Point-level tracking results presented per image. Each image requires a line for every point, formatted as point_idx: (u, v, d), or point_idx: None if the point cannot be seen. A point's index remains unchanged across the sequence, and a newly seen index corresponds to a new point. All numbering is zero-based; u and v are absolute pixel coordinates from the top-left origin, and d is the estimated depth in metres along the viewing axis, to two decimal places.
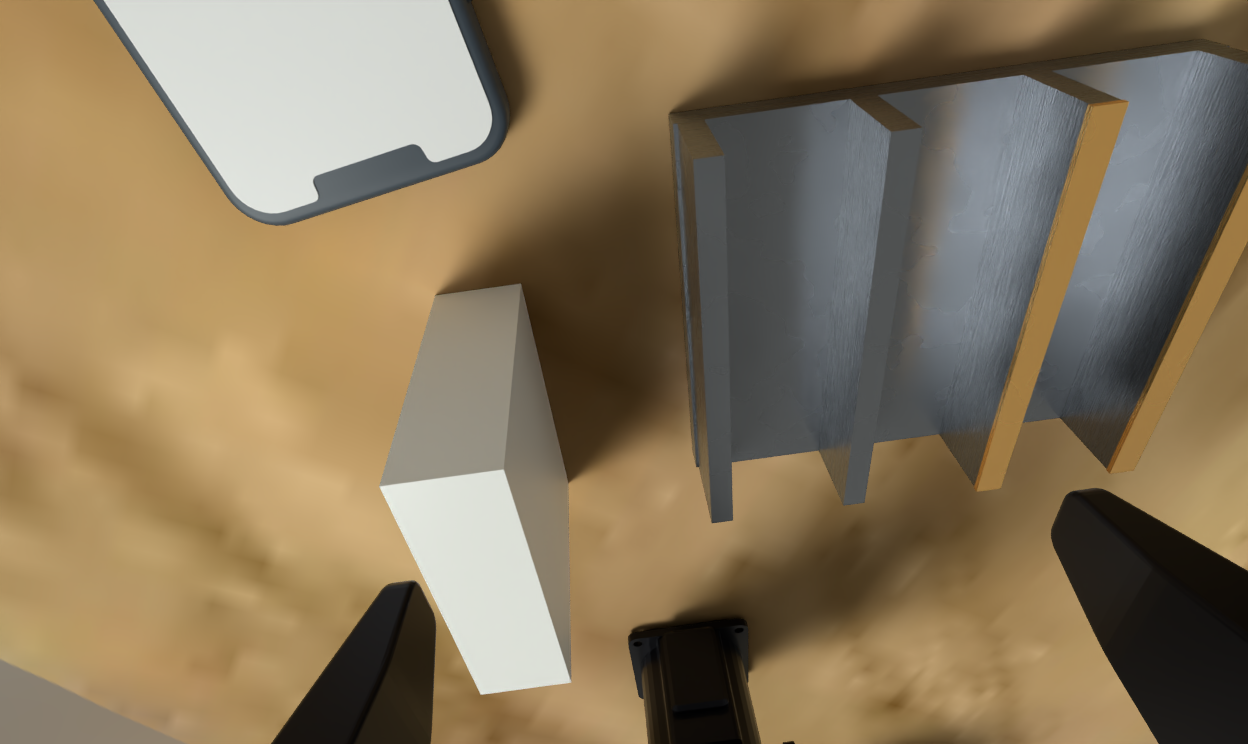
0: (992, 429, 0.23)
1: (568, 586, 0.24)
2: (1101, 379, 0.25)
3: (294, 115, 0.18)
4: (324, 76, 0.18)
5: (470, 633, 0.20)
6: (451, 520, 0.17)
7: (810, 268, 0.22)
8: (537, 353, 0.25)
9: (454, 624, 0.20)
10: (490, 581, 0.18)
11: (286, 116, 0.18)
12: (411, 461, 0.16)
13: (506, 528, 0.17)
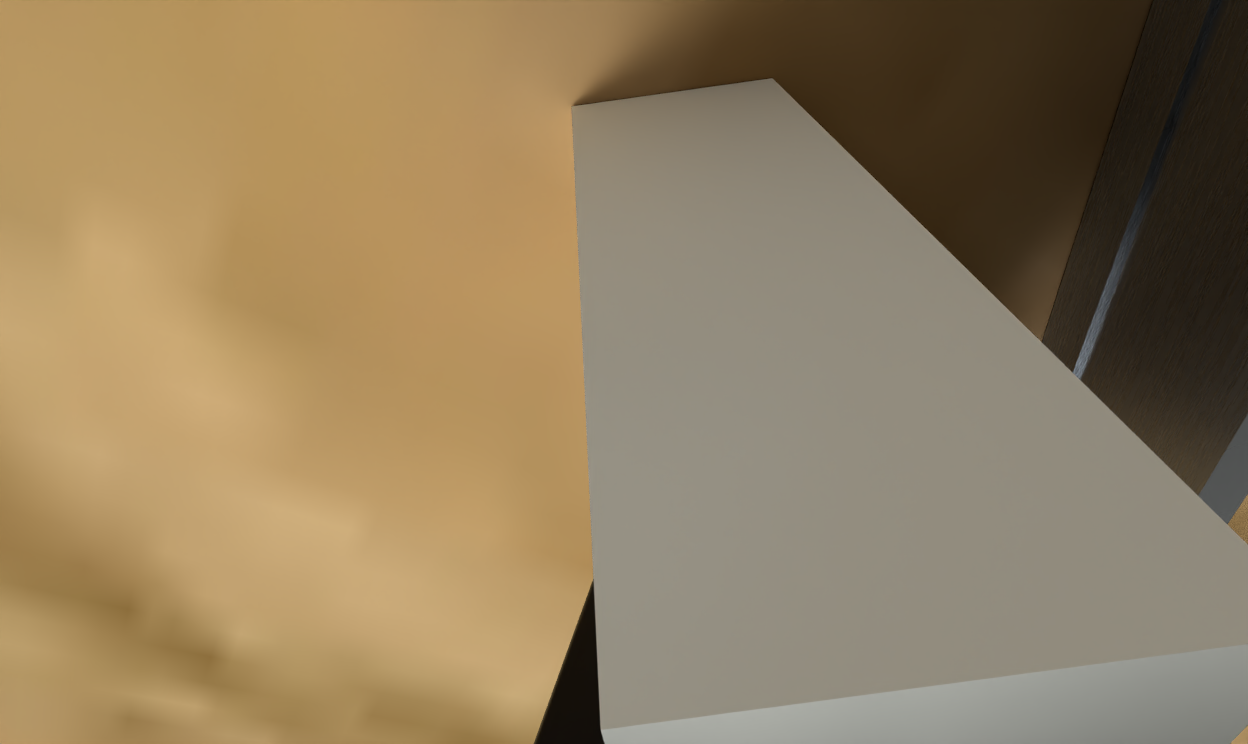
0: None
1: None
2: None
3: None
4: None
5: None
6: None
7: None
8: None
9: None
10: None
11: None
12: (725, 562, 0.03)
13: None
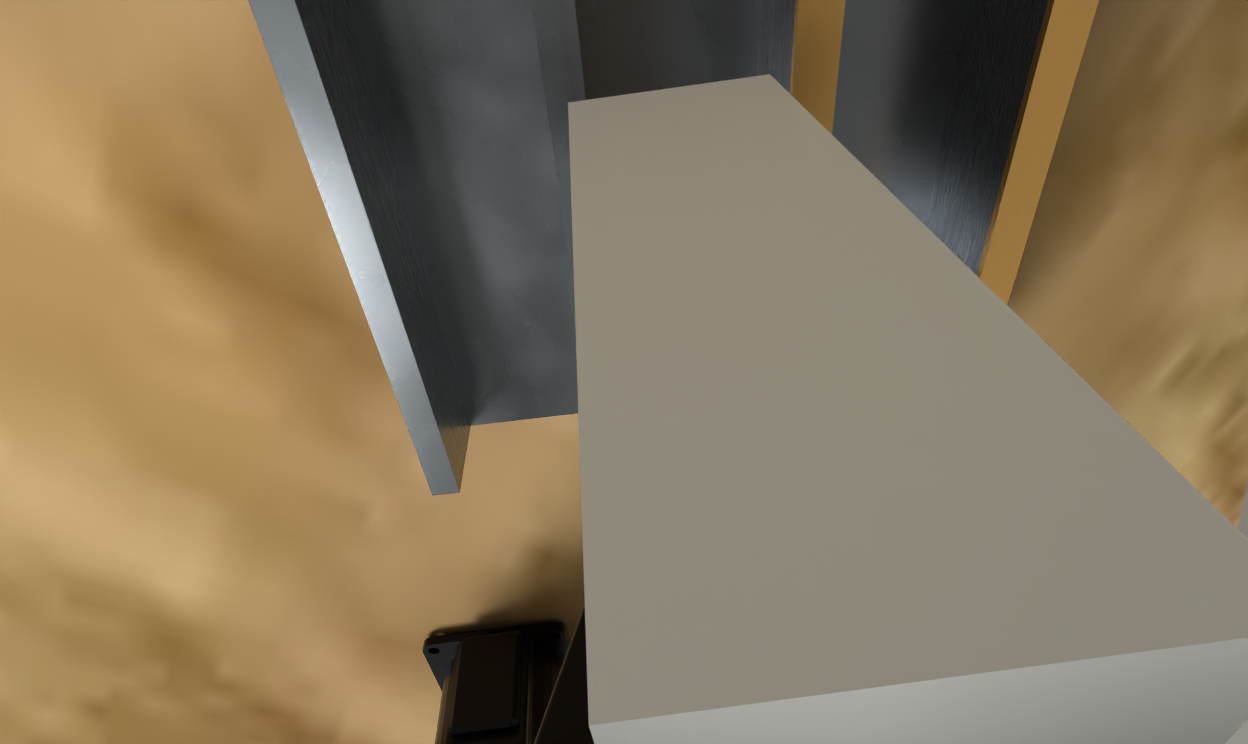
0: None
1: None
2: None
3: None
4: None
5: None
6: None
7: (527, 155, 0.17)
8: None
9: None
10: None
11: None
12: (718, 554, 0.03)
13: None
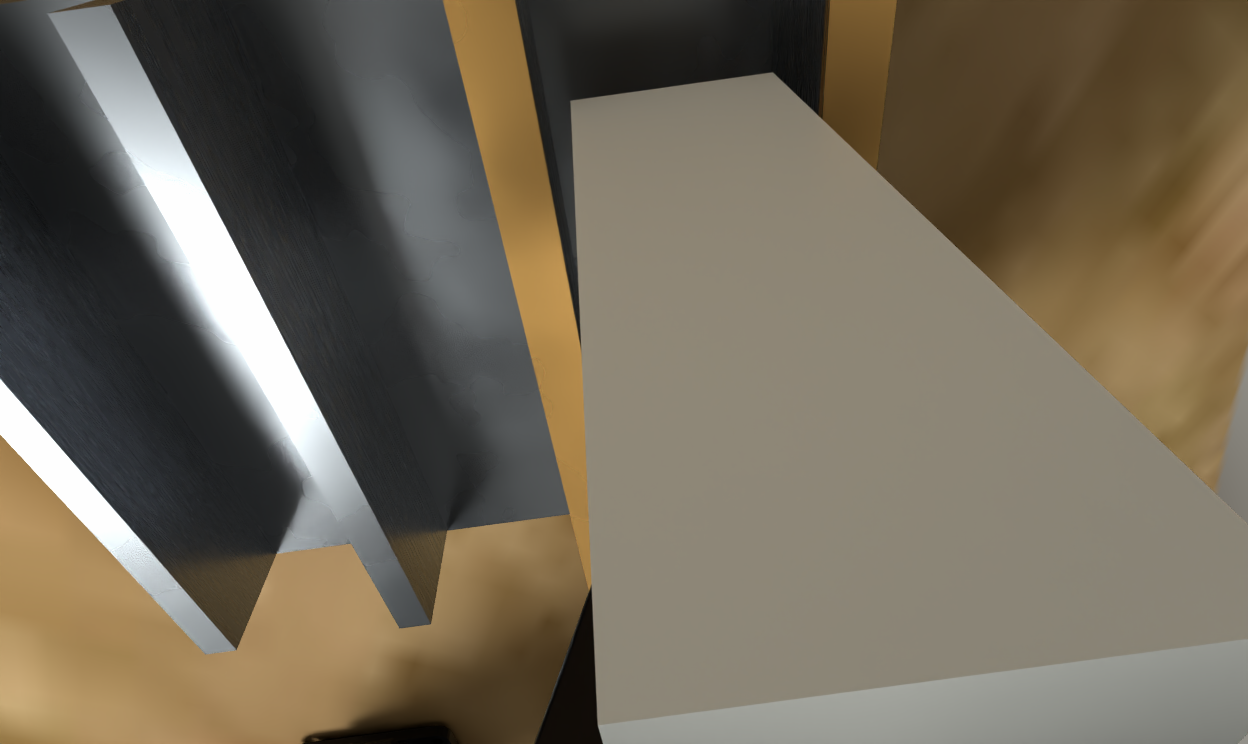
0: (574, 527, 0.15)
1: None
2: None
3: None
4: None
5: None
6: None
7: None
8: None
9: None
10: None
11: None
12: (725, 554, 0.03)
13: None
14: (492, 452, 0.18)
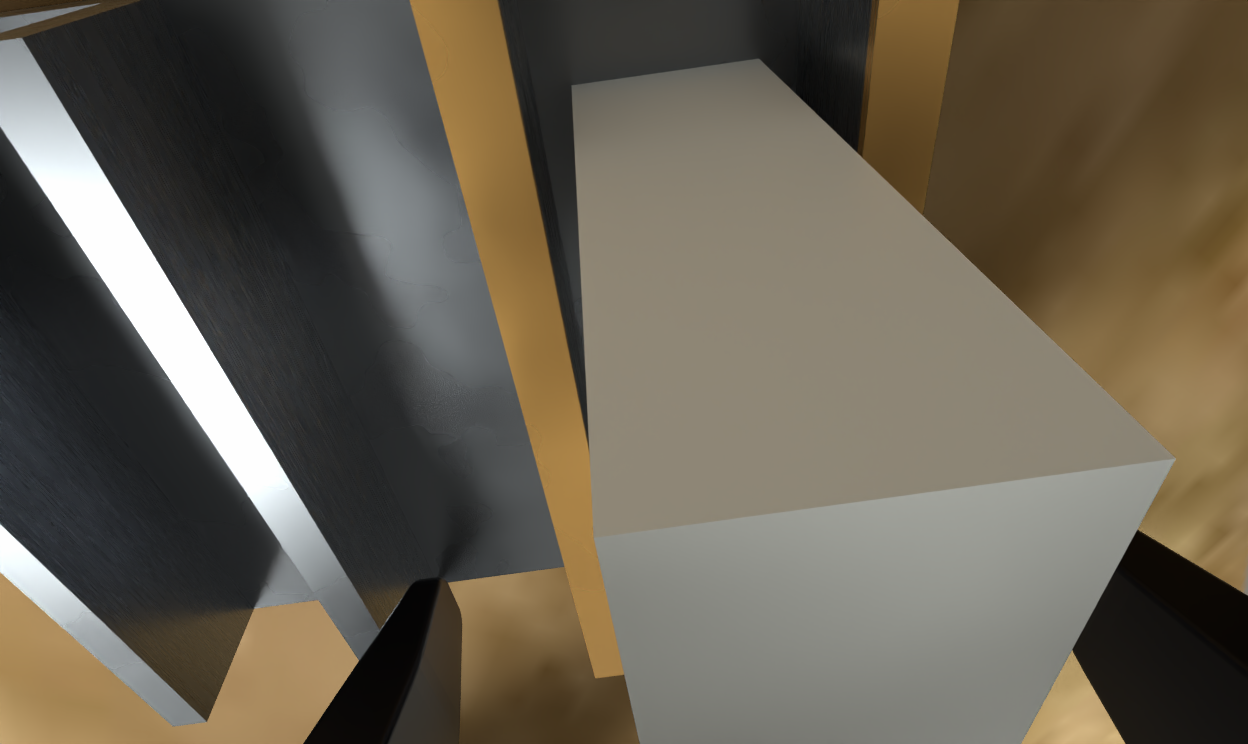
0: (573, 596, 0.14)
1: None
2: None
3: None
4: None
5: None
6: (830, 659, 0.04)
7: None
8: None
9: None
10: None
11: None
12: (697, 427, 0.04)
13: (1004, 678, 0.05)
14: (485, 504, 0.16)
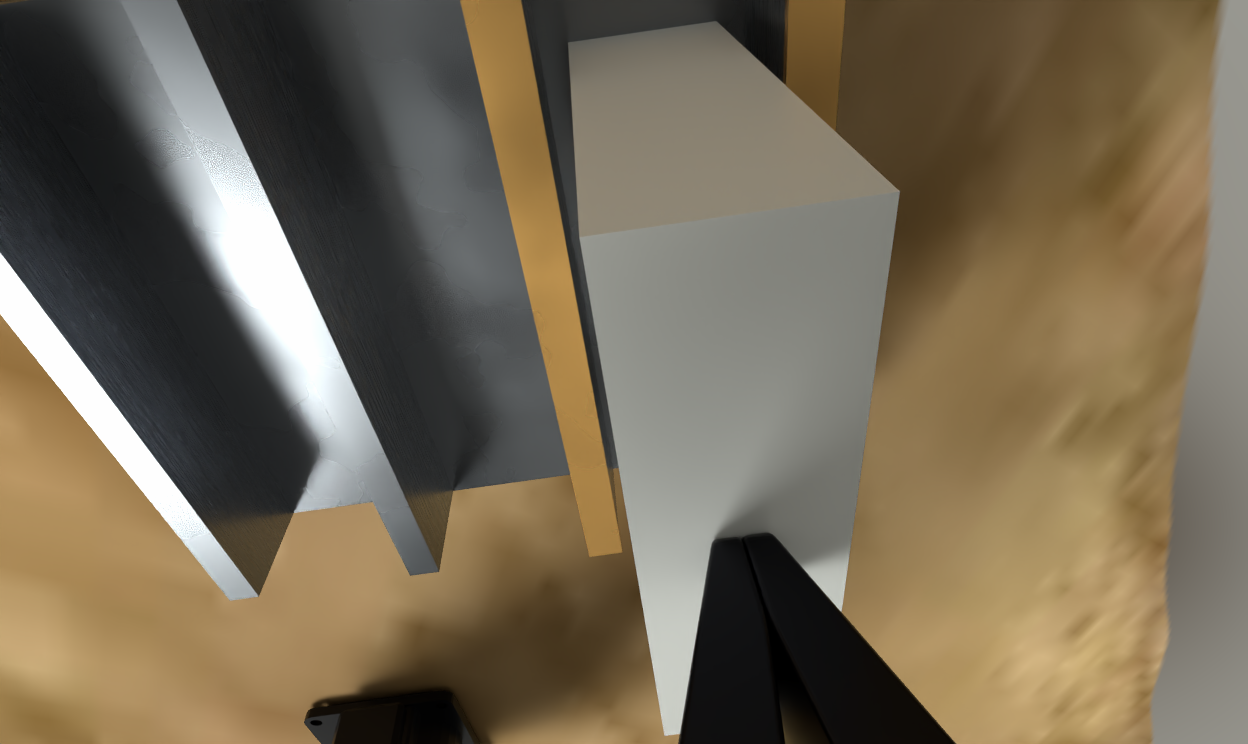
0: None
1: None
2: None
3: None
4: None
5: (681, 623, 0.10)
6: (725, 350, 0.07)
7: None
8: None
9: (657, 604, 0.10)
10: (758, 509, 0.09)
11: None
12: (642, 196, 0.07)
13: (839, 375, 0.07)
14: (495, 414, 0.19)
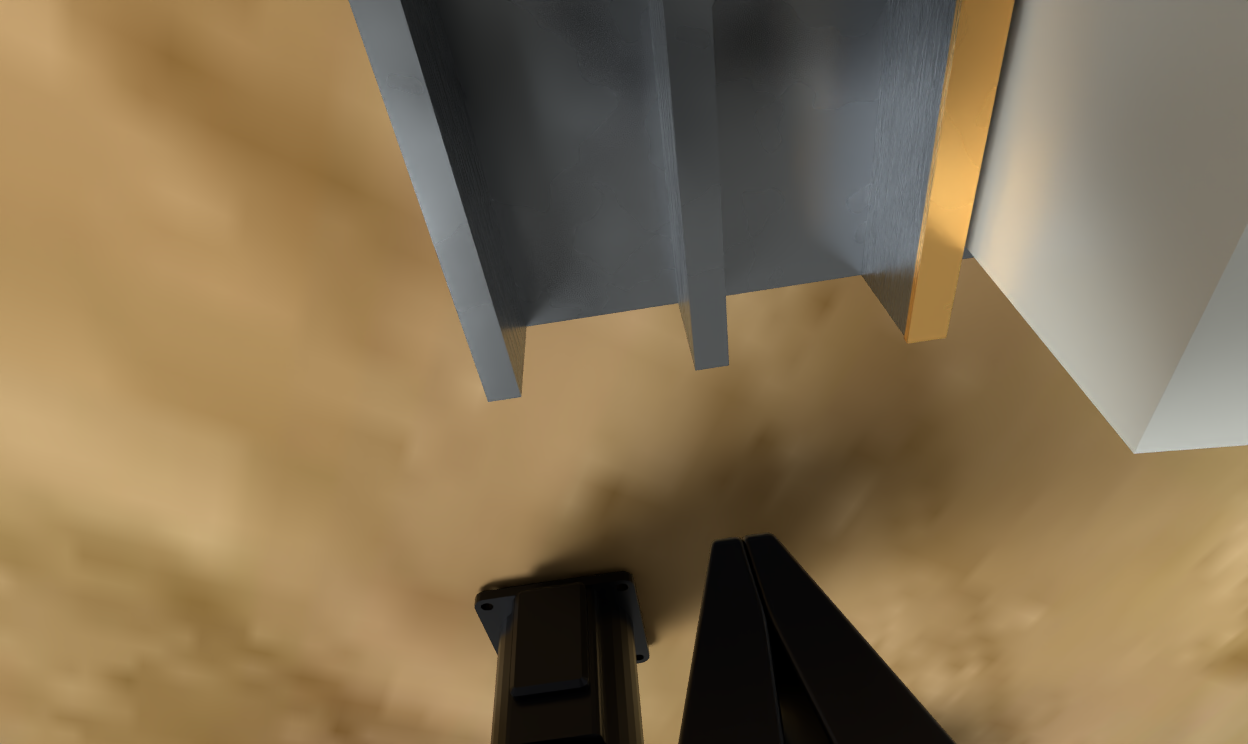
0: (923, 222, 0.14)
1: None
2: None
3: None
4: None
5: None
6: None
7: None
8: None
9: None
10: None
11: None
12: None
13: None
14: (780, 190, 0.16)
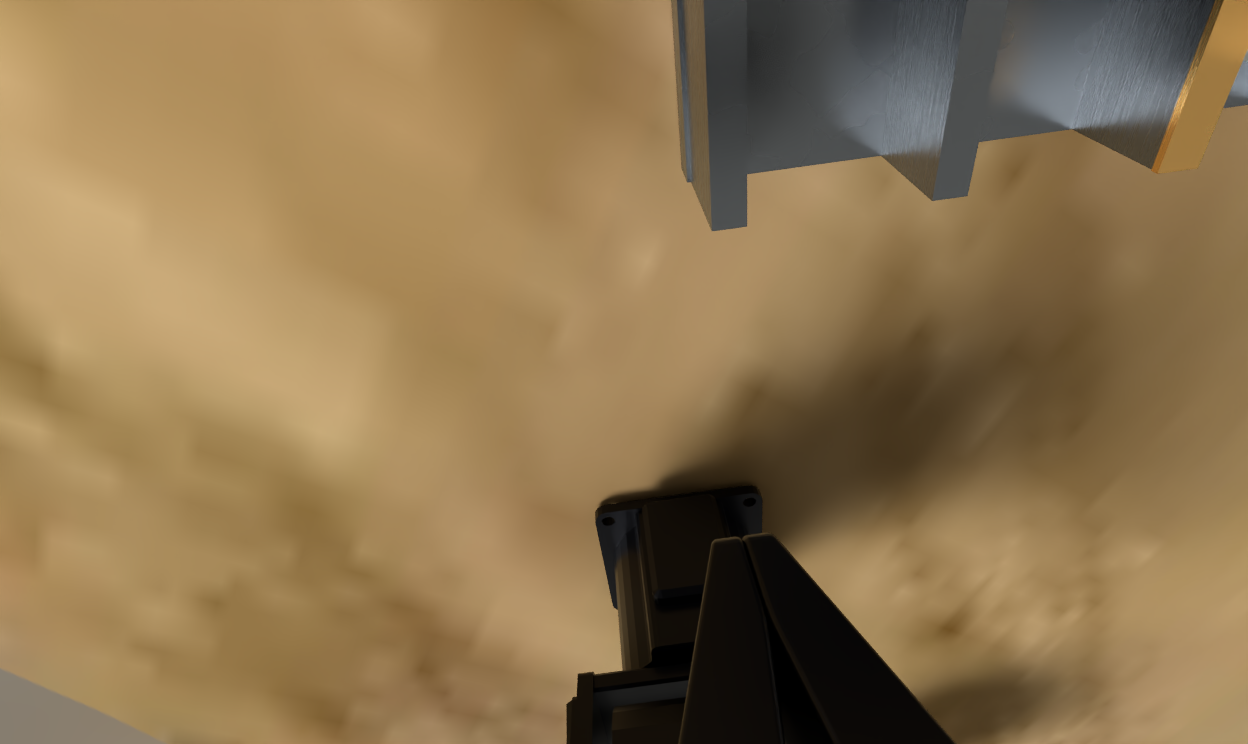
0: (1209, 21, 0.13)
1: None
2: None
3: None
4: None
5: None
6: None
7: None
8: None
9: None
10: None
11: None
12: None
13: None
14: (1012, 22, 0.16)
